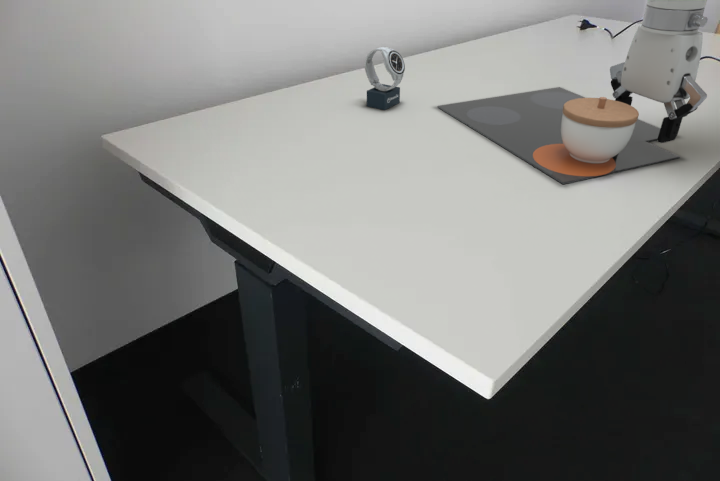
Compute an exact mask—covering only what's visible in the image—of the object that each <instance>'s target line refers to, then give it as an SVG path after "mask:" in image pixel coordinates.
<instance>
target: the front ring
mask: <svg viewBox="0 0 720 481" xmlns="http://www.w3.org/2000/svg"><path fill="white" fill-rule="evenodd" d="M569 153H570V152H569V151H568V150H567V149H566V147H565V146H564V144H551V145H546V146H542V147H540V148H538V149H536V150H535V151H534V153H533V158H534V160H535V161H536V162H537V163H538V164H540V165H541V166H543V167H545V168H547V169H549V170H552V171H555V172H558V173H562V174H567V175H574V176H598V177H600V176H599V175H603V176H605V175H604V174H607V173H609V172H611V171H613V170H614V169H615V167H616V163H615V161H614V159H613V158H610V160H609V161H607V162H605V163H598V164H594V163H586V162H582V161H578V160H576V159H574V158H572V157H571V156H570V154H569ZM607 175H608V174H607Z"/></svg>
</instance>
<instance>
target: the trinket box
mask: <svg viewBox="0 0 720 481" xmlns="http://www.w3.org/2000/svg"><path fill="white" fill-rule="evenodd" d="M639 117H640V112H639V111H638V109H637V108H635V107H634V106H633V105H631V106H630V105H628V104H626V103H623V102H619V101H615V99H609V98H607V97H605V96H599V97H585V98H578V99H573V100H570V101H568V102H566V103H565V104H564V106H563V115H562V121H561V138H562V141H563V144H564V146H565V147H566V149H567V150H568V151H569V152H570V153H569V154H570V156H571V157H572V158H574V159H576V160H578V161H582V162H586V163H594V164H598V163H605V162H607V161H609V160H610V158H612V157H614V156H616V155H617V154H619V153H620V152H621V151H622V150H623V149H624V148H625V146H626V145H627V143H628V142H629V140H630V138H631V135H632V133H633V130H634V127H635V123H636V121H637V119H638V120H639Z"/></svg>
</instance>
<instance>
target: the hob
mask: <svg viewBox="0 0 720 481" xmlns="http://www.w3.org/2000/svg"><path fill="white" fill-rule="evenodd" d="M578 98H586V97H584V96H582V95H580V94H577V93H575V92H573V91H570V90H568V89H565V88H562V87H560V86H559V87H552V88H545V89H539V90H532V91H525V92H519V93H513V94H505V95H500V96H494V97H493V96H492V97H487V98H480V99H475V100H473V99H472V100H468V101H461V102H454V103H448V104H442V105H437V108H438V109H440V110H441V111H443V112H444V113H445V114H447V115H449V116H450V117H453V118H454V119H456V120H457V121H459V122H460V123H462V124H464V125H465V126H466V127H469V128H471V129H472V130H474V131H475V132H477V133H479V134H480V135H482V136H483V137H485V138H487V139H488V140H490V141H492V142H493V143H495V144H496V145H498V146H500V147H501V148H503V149H505V150H506V151H507V152H509V153H511V154H513V155H514V156H515V157H518V158H519V159H521V160H523V161H524V162H526V163H528V164H529V165H530V166H532V167H534V168H535V169H537V170H539V171H541V172H542V173H544V174H546V175H547V176H549V177H550V178H551V179H553V180H555V181H556V182H558V183H560V184H561V185H568V184H571V183H576V182H580V181H584V180H589V179H594V178H598V177H604V176H607V175H611V174H615V173H621V172H624V171H630V170H634V169H638V168H642V167H647V166H652V165H656V164H660V163H665V162H669V161H673V160H677V159H680V158H681V156H680V155H678V154H675V153H673V152H671V151H669V150H666V149H664V148H662V147H659V146H657V145H655V144H653V143H651V142H654V141H657V139H658V135H659V132H660V129H661V127H658V126H655V125H653V124H651V123H648V122H645V121H644V120H641V119H639V118H638V119H637V121H636V123H635V127H634V130H633V133H632V135H631V138H630V140H629V142H628V143H627V145H626V146H625V148H624V149H623V150H622V151H621V152H620V153H619V154H617V155H616V156H614V157H612V158H613V159H614V161H615V163H616V167H615V169H614V170H613V171H611V172H609V173H607V174H604V175H599V176H574V175H567V174H562V173H558V172H555V171H552V170H549V169H547V168H545V167H543V166H541V165H540V164H538V163H537V162H536V161H535V160H534V158H533V153H534V151H535V150H536V149H538V148H540V147H542V146H546V145H551V144H563V141H562V138H561V121H562V115H563V106H564V104H565V103H566V102H568V101H570V100H573V99H578Z"/></svg>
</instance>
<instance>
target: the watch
mask: <svg viewBox="0 0 720 481" xmlns="http://www.w3.org/2000/svg"><path fill="white" fill-rule="evenodd" d="M377 52H381V55H382V57H383V65H384V68H385V70H386V72H387V73H388V74H389V75H390V76H391V79H392V81H393V83H392V84H391V85H390V84H385V83H380V79H379V77H378V75H377V72H376V69H375V65H374V64H373V58H374V55H376V53H377ZM405 70H406V63H405V61H404V58H403V57H402V55H401V53H400V52H398V51H397V50H395V49H393V48H391V47H388V46H380V47H378V48H377V47H376V48H375V49H372V50H371V51H369V52H368V53H367V55H366V57H365V60H364V71H365V75H366V76H367V79H368V80H367V81H368V82H369V83H370V85H371V86H373V87H372V88H370V89H368V90H366V107H369V108H373V109H377V110H382V111H386V110H388V109H390V108H393V107H394V106H396V105H398V104H400V103H401V102H400V101H401V86H400V87H399V85H400V84H401V82H402V80H403V77H404V75H405V74H404V73H405Z"/></svg>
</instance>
